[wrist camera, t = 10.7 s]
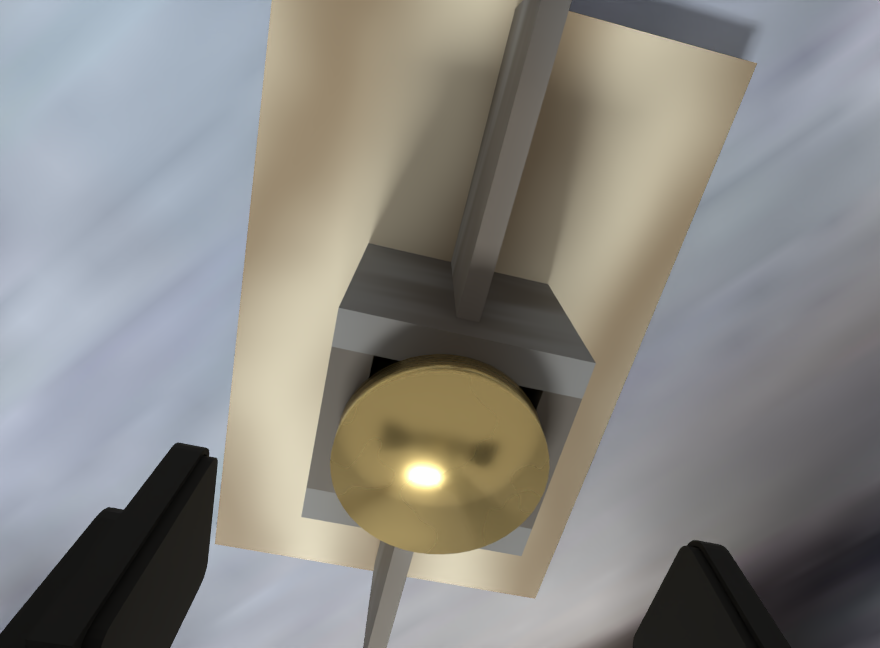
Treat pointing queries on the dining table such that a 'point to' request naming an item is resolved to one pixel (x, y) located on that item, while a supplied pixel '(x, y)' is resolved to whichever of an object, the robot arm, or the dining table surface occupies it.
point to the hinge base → (454, 246)
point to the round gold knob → (439, 455)
